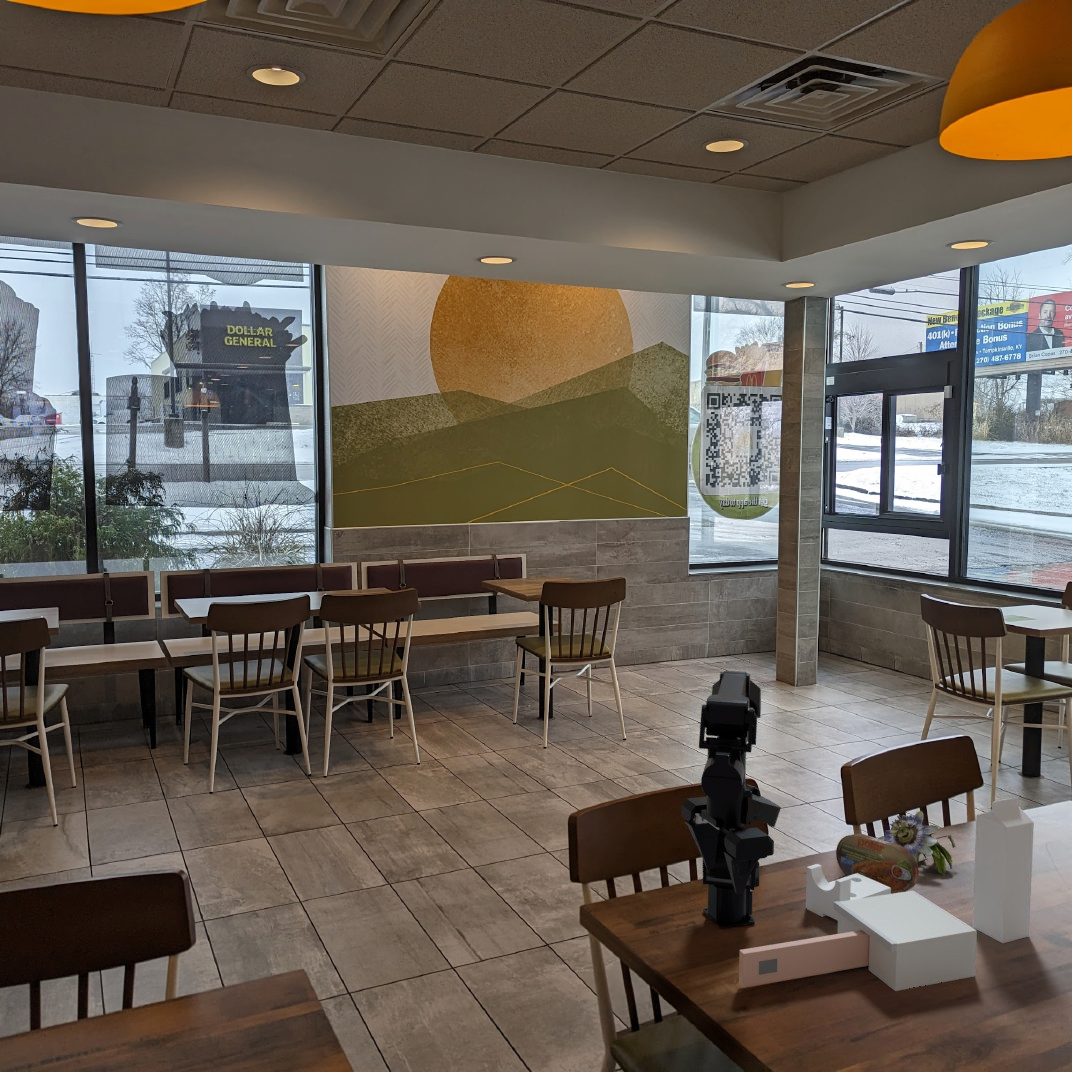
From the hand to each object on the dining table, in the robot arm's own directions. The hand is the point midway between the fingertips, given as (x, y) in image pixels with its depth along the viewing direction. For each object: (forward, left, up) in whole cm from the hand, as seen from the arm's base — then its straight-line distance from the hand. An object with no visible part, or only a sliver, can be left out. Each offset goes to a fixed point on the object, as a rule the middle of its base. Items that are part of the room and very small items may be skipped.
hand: (724, 880), depth 146 cm
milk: (+47, -6, -12) cm, 49 cm away
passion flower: (+52, +21, -12) cm, 57 cm away
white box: (+26, -9, -12) cm, 30 cm away
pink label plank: (+9, -9, -12) cm, 17 cm away
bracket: (+29, +9, -12) cm, 32 cm away
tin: (+39, +15, -12) cm, 44 cm away
